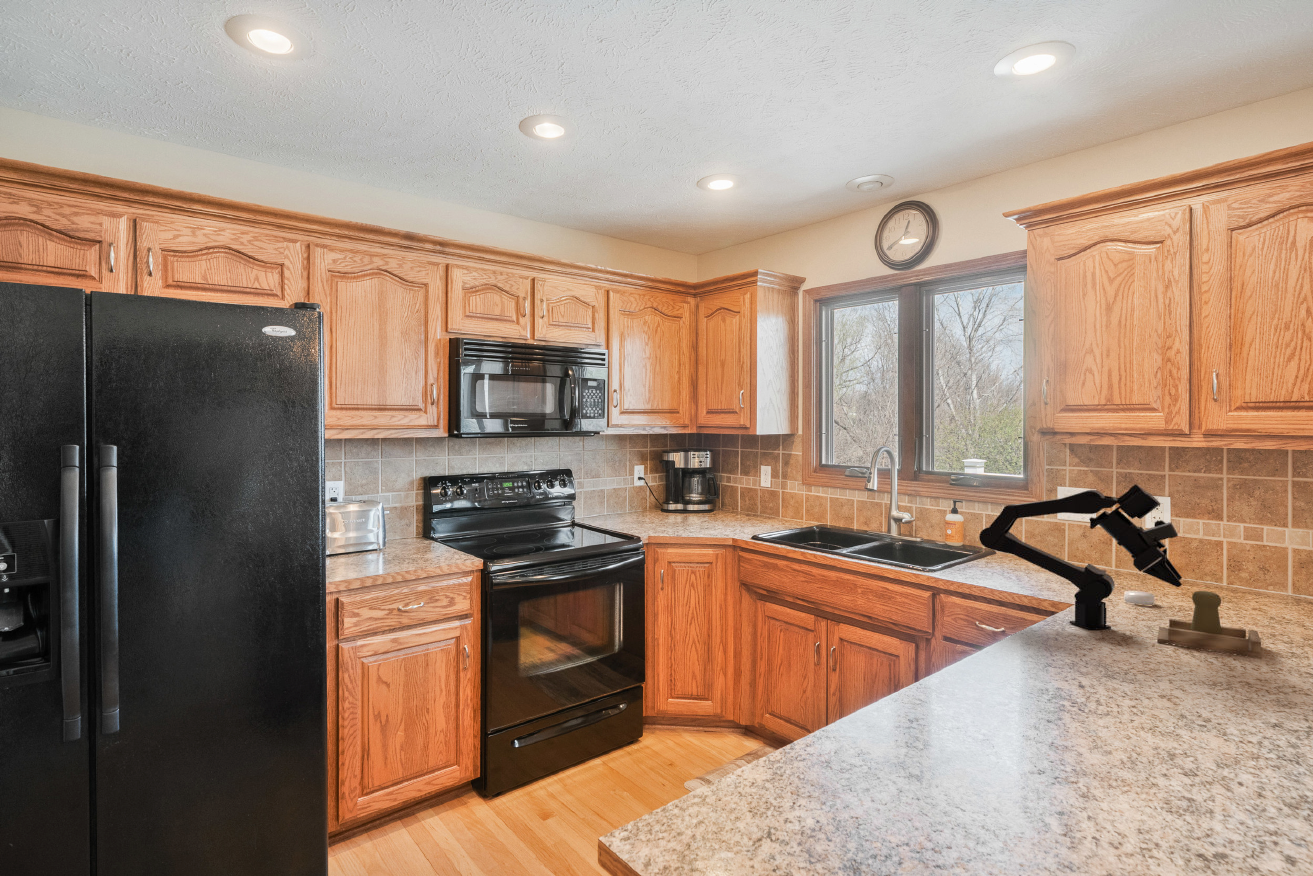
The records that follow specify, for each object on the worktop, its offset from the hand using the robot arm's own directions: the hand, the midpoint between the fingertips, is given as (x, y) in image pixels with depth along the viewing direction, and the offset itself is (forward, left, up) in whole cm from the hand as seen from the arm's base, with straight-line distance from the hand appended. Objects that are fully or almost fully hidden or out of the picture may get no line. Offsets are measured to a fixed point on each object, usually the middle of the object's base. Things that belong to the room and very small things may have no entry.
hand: (1180, 582), depth 158 cm
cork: (+3, -4, -13) cm, 14 cm away
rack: (+3, -4, -13) cm, 14 cm away
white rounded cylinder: (+23, +30, -14) cm, 40 cm away
